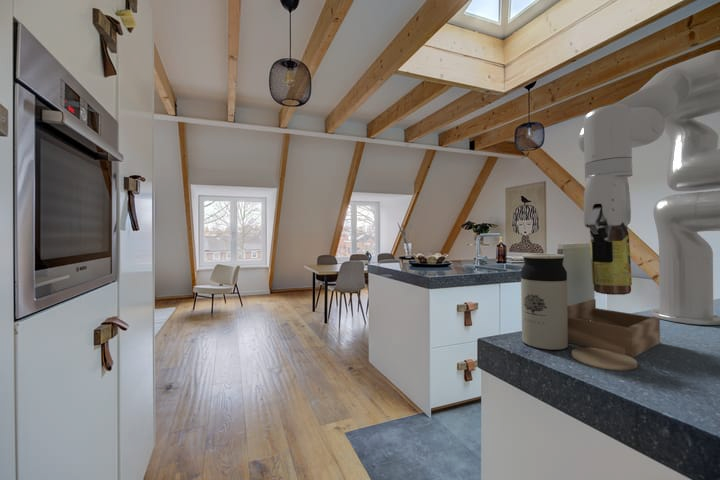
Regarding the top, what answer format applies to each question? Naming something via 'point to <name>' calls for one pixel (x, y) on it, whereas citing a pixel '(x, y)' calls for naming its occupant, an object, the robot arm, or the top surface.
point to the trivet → (604, 359)
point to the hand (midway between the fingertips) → (610, 259)
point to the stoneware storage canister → (544, 301)
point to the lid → (577, 272)
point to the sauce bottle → (614, 265)
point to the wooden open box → (611, 329)
